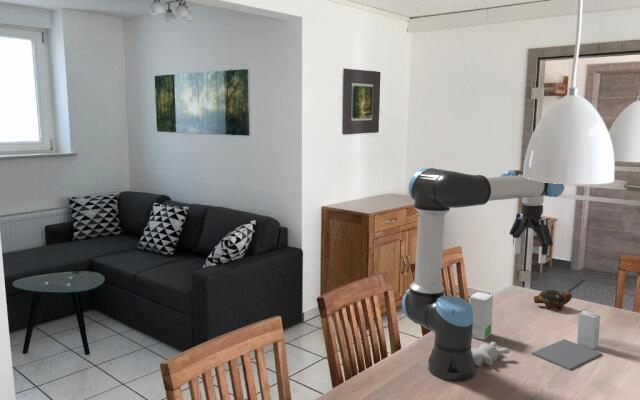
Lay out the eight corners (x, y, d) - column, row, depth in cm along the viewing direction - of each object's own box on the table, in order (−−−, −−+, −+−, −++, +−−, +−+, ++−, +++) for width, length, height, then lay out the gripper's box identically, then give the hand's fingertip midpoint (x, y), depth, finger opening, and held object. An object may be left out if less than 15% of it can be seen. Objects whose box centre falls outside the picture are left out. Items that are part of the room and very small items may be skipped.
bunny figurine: (460, 349, 181) (490, 335, 188) (460, 363, 182) (490, 348, 189) (481, 360, 173) (512, 344, 180) (482, 374, 174) (512, 358, 182)
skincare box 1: (483, 340, 197) (486, 300, 194) (466, 336, 201) (468, 296, 198) (491, 333, 203) (494, 294, 201) (475, 329, 207) (477, 290, 205)
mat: (569, 370, 175) (570, 368, 175) (531, 354, 186) (531, 352, 186) (601, 354, 186) (602, 353, 186) (564, 340, 197) (564, 339, 197)
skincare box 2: (598, 346, 192) (601, 314, 190) (593, 350, 190) (596, 317, 188) (581, 341, 197) (584, 309, 195) (575, 344, 194) (578, 312, 192)
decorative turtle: (573, 313, 224) (574, 295, 222) (535, 312, 228) (535, 294, 226) (568, 304, 233) (569, 286, 232) (532, 303, 237) (532, 286, 235)
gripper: (566, 208, 192) (561, 265, 196) (517, 198, 215) (514, 249, 219) (549, 210, 190) (545, 267, 193) (502, 199, 213) (499, 251, 216)
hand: (528, 258), depth 206 cm, fingers open, 13 cm apart
